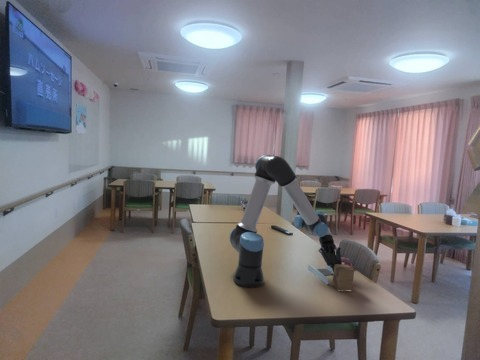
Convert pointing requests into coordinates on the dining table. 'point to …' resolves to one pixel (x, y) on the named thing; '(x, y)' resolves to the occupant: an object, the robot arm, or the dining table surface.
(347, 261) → the video game controller
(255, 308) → the dining table surface
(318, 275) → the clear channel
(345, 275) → the walnut block
